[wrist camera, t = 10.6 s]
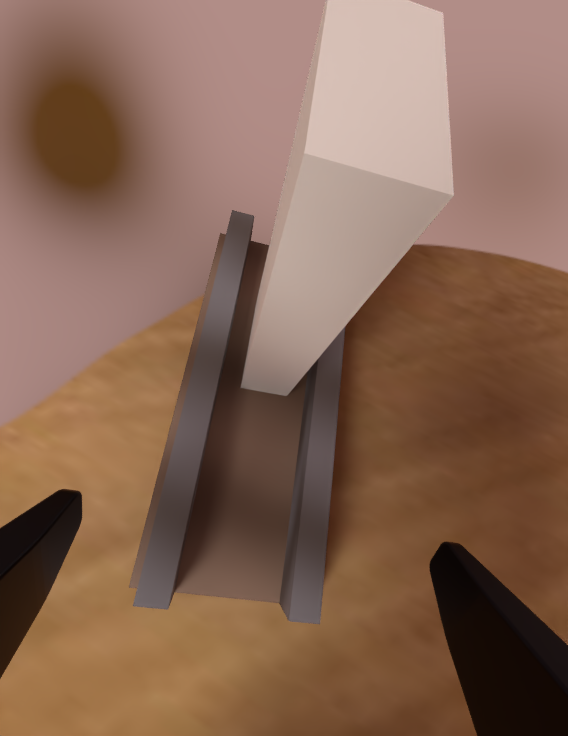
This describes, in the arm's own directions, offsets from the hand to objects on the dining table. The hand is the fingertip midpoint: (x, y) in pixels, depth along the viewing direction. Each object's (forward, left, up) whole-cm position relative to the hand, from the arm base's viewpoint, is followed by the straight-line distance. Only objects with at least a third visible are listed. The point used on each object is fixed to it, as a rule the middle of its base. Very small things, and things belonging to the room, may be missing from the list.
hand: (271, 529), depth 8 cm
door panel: (+6, +5, -7) cm, 11 cm away
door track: (+4, +4, -9) cm, 11 cm away
